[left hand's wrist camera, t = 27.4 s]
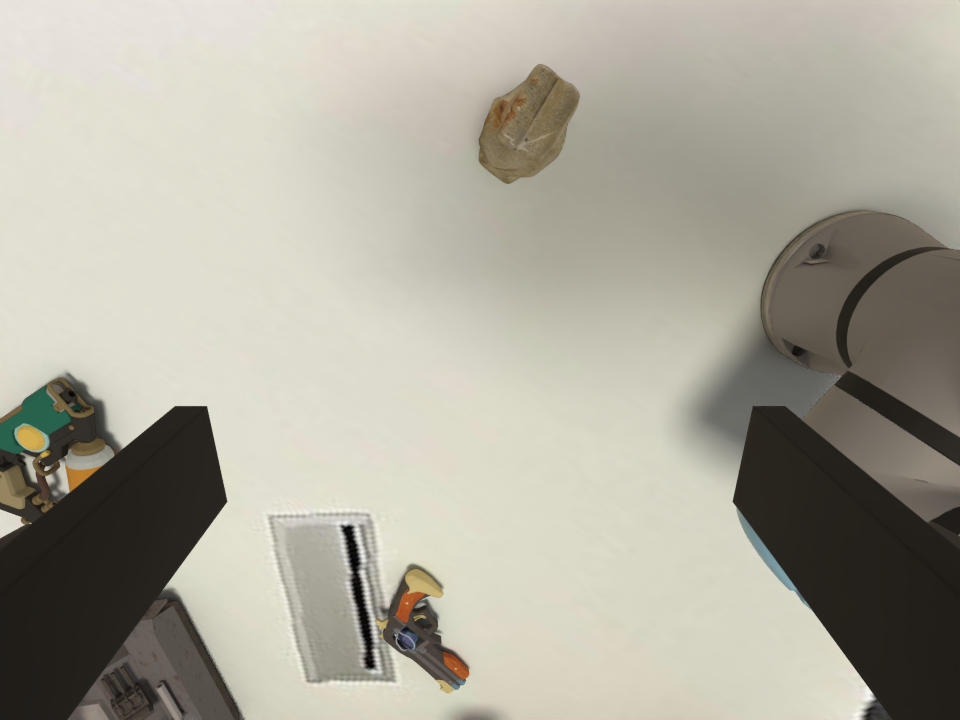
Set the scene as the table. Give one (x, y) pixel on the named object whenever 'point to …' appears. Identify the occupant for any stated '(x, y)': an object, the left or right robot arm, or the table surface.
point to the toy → (159, 675)
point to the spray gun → (47, 447)
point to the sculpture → (527, 126)
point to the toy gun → (421, 632)
